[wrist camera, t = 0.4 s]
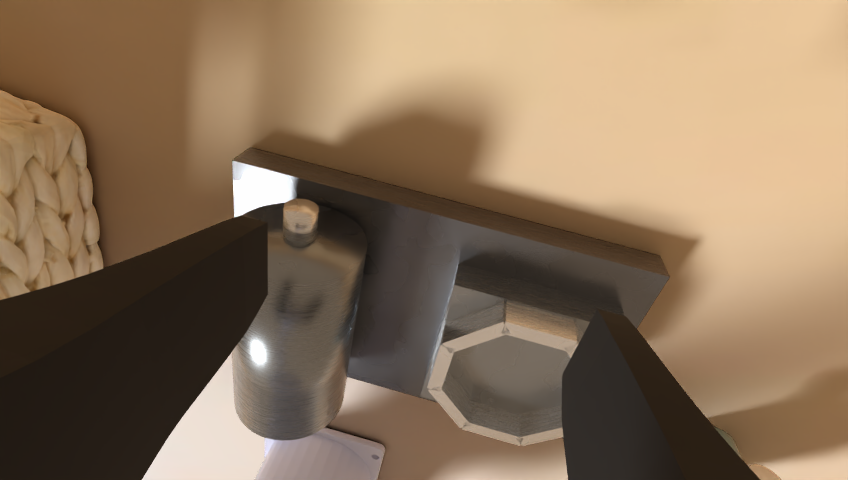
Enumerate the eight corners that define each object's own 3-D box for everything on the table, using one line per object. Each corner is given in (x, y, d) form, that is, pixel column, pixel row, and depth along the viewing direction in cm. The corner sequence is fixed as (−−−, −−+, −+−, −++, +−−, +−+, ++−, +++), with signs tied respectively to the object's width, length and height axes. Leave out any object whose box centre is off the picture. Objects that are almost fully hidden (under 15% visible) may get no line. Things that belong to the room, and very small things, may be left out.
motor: (563, 415, 25) (576, 542, 20) (253, 327, 26) (181, 426, 20) (663, 249, 19) (721, 369, 13) (250, 141, 20) (146, 211, 14)
